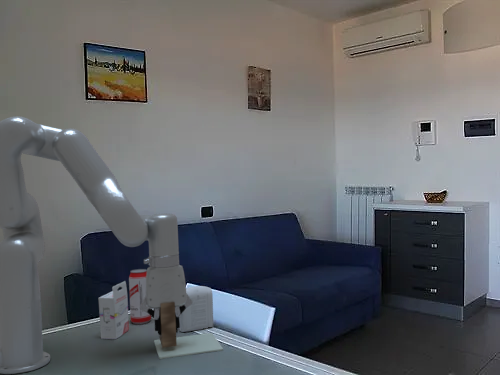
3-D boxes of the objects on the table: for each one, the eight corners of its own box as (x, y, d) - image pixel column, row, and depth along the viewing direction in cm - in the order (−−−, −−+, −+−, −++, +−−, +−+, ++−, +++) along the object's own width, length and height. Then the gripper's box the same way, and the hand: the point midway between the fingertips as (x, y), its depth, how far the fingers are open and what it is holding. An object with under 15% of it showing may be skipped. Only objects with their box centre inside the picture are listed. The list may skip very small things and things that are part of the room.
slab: (162, 347, 125) (160, 304, 124) (159, 339, 131) (157, 298, 131) (176, 345, 126) (174, 302, 125) (173, 337, 132) (171, 296, 132)
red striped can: (145, 318, 158) (143, 268, 158) (155, 321, 154) (152, 270, 153) (127, 322, 154) (125, 271, 154) (136, 326, 150) (134, 273, 149)
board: (159, 359, 121) (159, 357, 121) (153, 341, 134) (153, 340, 134) (223, 350, 125) (223, 348, 125) (211, 334, 139) (211, 332, 139)
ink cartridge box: (113, 329, 147) (111, 280, 147) (129, 330, 146) (127, 280, 146) (99, 339, 139) (97, 286, 138) (116, 339, 138) (113, 286, 137)
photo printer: (210, 324, 149) (208, 283, 149) (215, 327, 145) (214, 285, 145) (177, 329, 144) (175, 287, 144) (182, 333, 141) (180, 290, 140)
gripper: (132, 266, 122) (135, 340, 123) (198, 261, 127) (201, 332, 127) (130, 262, 129) (134, 332, 130) (193, 257, 134) (196, 324, 134)
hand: (167, 331), depth 128 cm, fingers closed on slab, 3 cm apart
